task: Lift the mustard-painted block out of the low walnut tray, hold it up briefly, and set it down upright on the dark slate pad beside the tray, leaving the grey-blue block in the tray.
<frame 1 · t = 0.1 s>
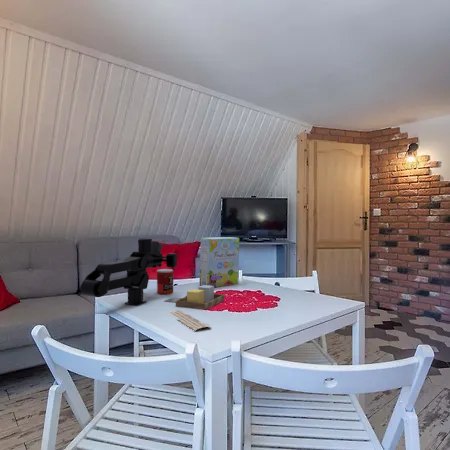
hand: (168, 257, 171), 17 cm above the table, tool horizontal, fingers open, 9 cm apart
walnut tray: (201, 304, 147), on the table
grey-blue block: (206, 300, 151), point 1 cm above the table, touching walnut tray
tan flat ridged strip: (189, 323, 123), on the table
snack box: (219, 285, 190), on the table
canned food: (165, 293, 169), on the table
slate pad: (177, 301, 151), on the table
mustard block: (195, 305, 142), point 1 cm above the table, touching walnut tray
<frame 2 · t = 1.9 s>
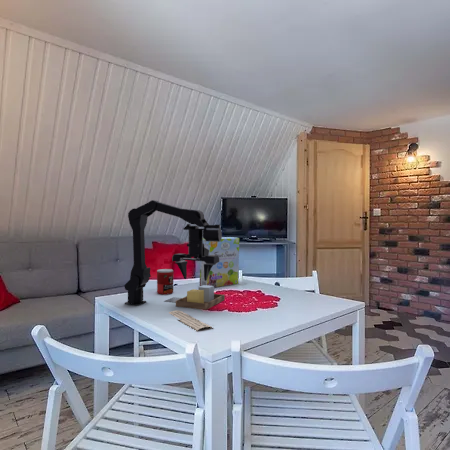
hand: (195, 279, 142), 11 cm above the table, tool pointing down, fingers open, 9 cm apart
nothing on the table moved.
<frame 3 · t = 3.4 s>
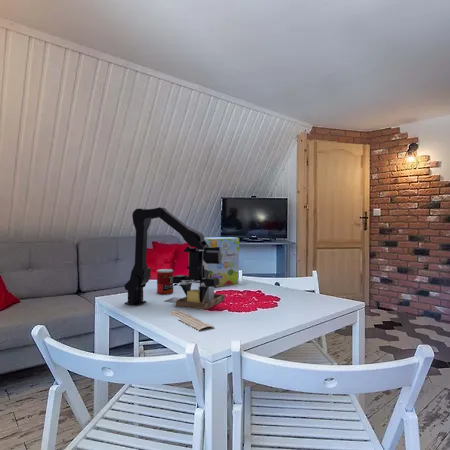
hand: (195, 301, 142), 2 cm above the table, tool pointing down, fingers closed on mustard block, 5 cm apart
mustard block: (195, 305, 142), point 1 cm above the table, touching gripper, walnut tray
everything else where it was.
when the fingers open (3 cm above the table, at t = 8.2 s): mustard block drops 1 cm, resting on slate pad.
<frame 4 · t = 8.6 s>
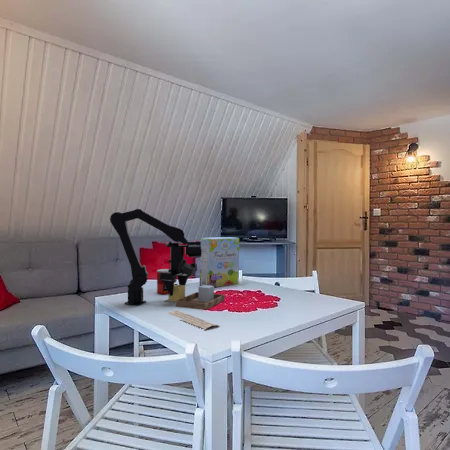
hand: (177, 293, 151), 3 cm above the table, tool pointing down, fingers open, 9 cm apart
mustard block: (177, 299, 151), point 1 cm above the table, touching slate pad
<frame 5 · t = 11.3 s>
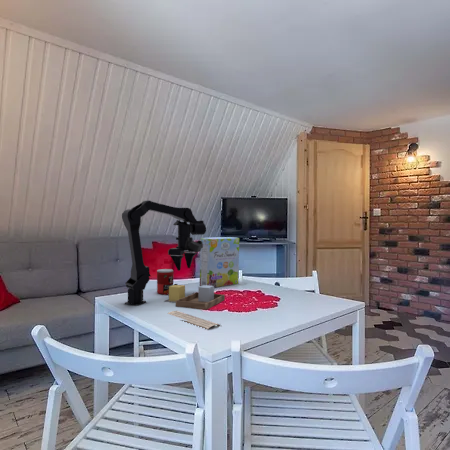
hand: (184, 269, 161), 12 cm above the table, tool pointing down, fingers open, 9 cm apart
at the end: mustard block inside the target area on the slate pad (0.0 cm from its centre), point 0.8 cm above the slate pad's base; mustard block tilted 0°; grey-blue block inside the target area on the walnut tray (5.0 cm from its centre), point 0.6 cm above the walnut tray's base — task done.
